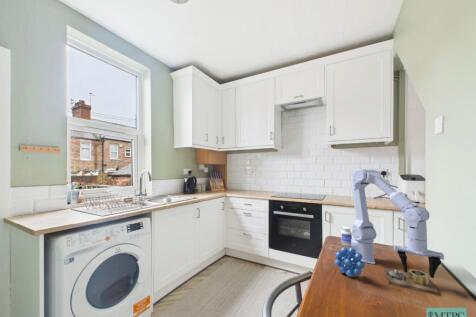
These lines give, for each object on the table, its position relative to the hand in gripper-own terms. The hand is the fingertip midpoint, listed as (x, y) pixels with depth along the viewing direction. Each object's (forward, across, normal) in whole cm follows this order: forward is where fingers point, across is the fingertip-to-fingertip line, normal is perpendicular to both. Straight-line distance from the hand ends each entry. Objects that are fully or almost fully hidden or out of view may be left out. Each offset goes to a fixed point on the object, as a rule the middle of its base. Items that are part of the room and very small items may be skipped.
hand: (418, 273), depth 78 cm
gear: (+3, 0, 0) cm, 3 cm away
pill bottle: (+4, -25, +32) cm, 41 cm away
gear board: (+4, -3, 0) cm, 5 cm away
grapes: (+4, -23, -7) cm, 24 cm away
